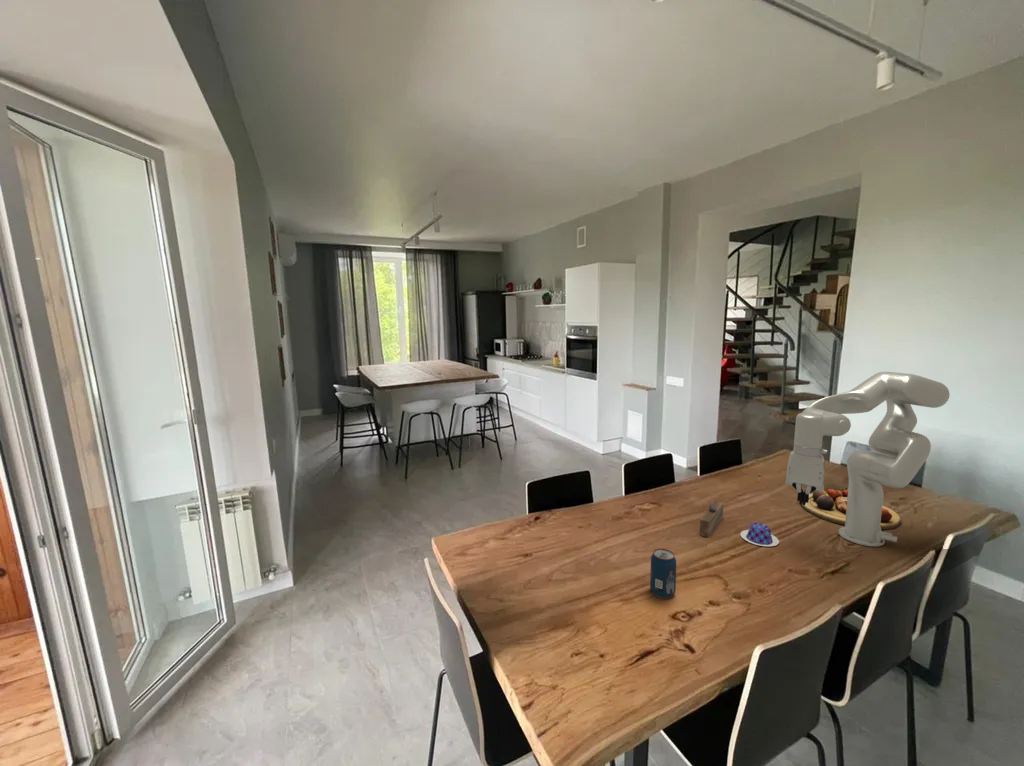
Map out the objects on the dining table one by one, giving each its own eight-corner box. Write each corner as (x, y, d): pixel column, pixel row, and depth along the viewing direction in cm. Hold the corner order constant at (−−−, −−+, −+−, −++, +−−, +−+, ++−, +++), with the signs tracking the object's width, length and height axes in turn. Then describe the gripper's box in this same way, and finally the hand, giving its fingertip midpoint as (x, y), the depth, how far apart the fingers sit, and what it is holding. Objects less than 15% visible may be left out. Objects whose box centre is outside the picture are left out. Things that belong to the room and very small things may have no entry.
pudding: (759, 550, 145) (760, 536, 144) (732, 534, 156) (733, 521, 156) (787, 545, 148) (788, 530, 148) (758, 529, 160) (759, 516, 159)
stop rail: (722, 517, 169) (723, 498, 168) (708, 537, 154) (709, 516, 153) (714, 515, 171) (715, 496, 170) (699, 535, 156) (700, 514, 155)
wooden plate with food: (924, 531, 156) (927, 509, 155) (835, 531, 157) (837, 509, 156) (856, 497, 187) (858, 479, 186) (783, 497, 188) (784, 479, 187)
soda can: (655, 582, 128) (656, 545, 127) (678, 590, 124) (680, 552, 122) (646, 593, 123) (647, 555, 121) (670, 603, 119) (671, 563, 117)
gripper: (836, 452, 138) (831, 505, 140) (782, 444, 147) (778, 494, 150) (834, 457, 132) (829, 513, 135) (778, 449, 142) (774, 501, 144)
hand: (802, 503), depth 142 cm, fingers closed
